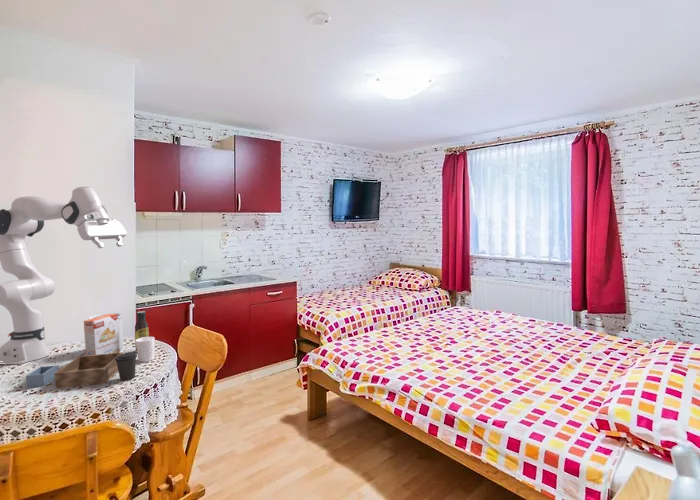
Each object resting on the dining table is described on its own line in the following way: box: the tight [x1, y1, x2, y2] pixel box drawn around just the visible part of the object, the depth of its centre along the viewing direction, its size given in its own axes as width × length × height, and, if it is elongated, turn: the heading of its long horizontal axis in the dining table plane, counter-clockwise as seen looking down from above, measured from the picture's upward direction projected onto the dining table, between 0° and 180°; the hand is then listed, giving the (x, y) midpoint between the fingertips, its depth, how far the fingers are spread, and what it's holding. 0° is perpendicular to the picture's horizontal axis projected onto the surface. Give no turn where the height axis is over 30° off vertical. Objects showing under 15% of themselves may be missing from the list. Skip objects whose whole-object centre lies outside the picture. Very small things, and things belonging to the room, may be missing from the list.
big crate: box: [54, 352, 124, 389], centre depth 164 cm, size 18×20×6 cm
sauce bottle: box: [134, 310, 150, 353], centre depth 195 cm, size 7×6×20 cm
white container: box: [87, 312, 124, 350], centre depth 199 cm, size 15×15×18 cm
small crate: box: [26, 365, 58, 388], centre depth 159 cm, size 6×10×5 cm, turn 12°
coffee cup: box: [115, 352, 138, 382], centre depth 160 cm, size 8×8×10 cm
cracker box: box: [83, 313, 121, 356], centre depth 182 cm, size 14×6×21 cm, turn 168°
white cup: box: [135, 336, 156, 363], centre depth 182 cm, size 8×8×10 cm
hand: (111, 246), depth 169 cm, fingers open, 8 cm apart
